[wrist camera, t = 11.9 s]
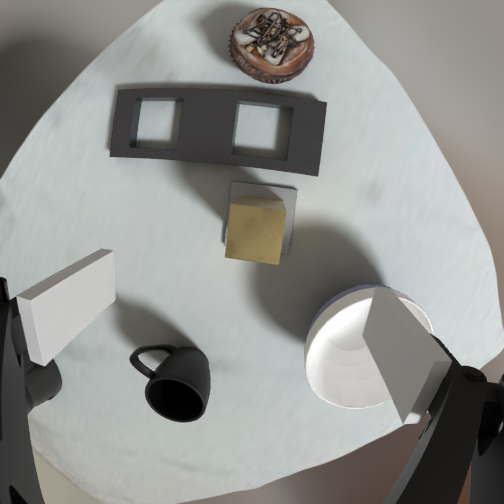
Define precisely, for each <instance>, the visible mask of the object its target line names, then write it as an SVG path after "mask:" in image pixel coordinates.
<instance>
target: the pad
mask: <svg viewBox="0 0 504 504" xmlns="http://www.w3.org/2000/svg"><path fill="white" fill-rule="evenodd" d="M297 191H298V190H295V189H288V188H281V187H273V186H266V185H258V184H250V183H242V182H233V181H231V188H230V197H229V206H228V215H227V224H226V234H225V244H224V246H226V243H227V233H228V224H229V215H230V206H231V203H232V202H234V201H235V200H236V199H237V198H239V197H240V196H241V195H245V196H253V197H261V198H269V199H276V200H283V202H284V204H285V207H286V210H287V214H286V221H285V227H284V234H283V241H282V248H281V253H282V254H288V252H289V246H290V239H291V233H292V226H293V219H294V212H295V205H296V198H297Z"/></svg>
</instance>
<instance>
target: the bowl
mask: <svg viewBox="0 0 504 504" xmlns="http://www.w3.org/2000/svg"><path fill="white" fill-rule="evenodd" d="M376 286H377V287H385V288H390V287H387V286H383V285H379V284H365V285H359V286H354V287H352V288H349V289H346V290H344V291H342V292H340V293H338V294H337V295H335V296H333V297H332V298H331V299H330V300H329V301H327V302H326V303H325V304H324V305H323V306H322V307H321V309H320V310H319V311H318V312H317V313H316V315H315V317H314V319H313V320H312V322H311V325H310V327H309V330H308V334H307V339H306V343H305V351H304V360H305V373H306V377H307V380H308V383H309V385H310V387H311V388H312V389H313V391H314V392H315V393H316V394H317V395H318V396H319V397H320V398H321V399H323V400H324V401H326V402H328V403H330V404H332V405H335V406H338V407H342V408H350V409H359V408H368V407H372V406H377V405H379V404H382V403H385V402H387V401H389V400H391V399H392V398H391V395H390V393H389V391H388V389H387V387H386V384H385V382H384V380H383V378H382V376H381V374H380V371H379V369H378V367H377V365H376V363H375V361H374V359H373V357H372V355H371V353H370V351H369V349H368V346H367V344H366V342H365V340H364V338H363V336H362V334H363V331H364V327H365V324H366V320H367V317H368V313H369V310H370V306H371V303H372V299H373V295H374V291H375V287H376ZM390 289H391V290H392V291H393V293H394V294H395V295H396V296H397V297H398V298H399V299H400V300H401V301H402V302H403V304H404V305H405V306H406V307H407V308H408V309H409V310H410V312H411V313H412V314H413V315H414V316H415V317H416V318H417V320H418V321H419V322H420V323H421V324H422V325H423V326H424V328H425V329H426V330H427V331H428V332H429V333H431V334H432V335H433V328H432V325H431V322H430V319H429V317H428V316H427V314H426V313H425V311H424V310H423V309H422V308H421V307H420V306H419V305H417V304H416V303H415V302H414V301H413V300H412V299H410V298H409V297H408V296H407V295H405V294H403V293H401V292H399V291H397V290H394V289H392V288H390Z"/></svg>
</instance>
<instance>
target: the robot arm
mask: <svg viewBox="0 0 504 504" xmlns="http://www.w3.org/2000/svg"><path fill="white" fill-rule="evenodd" d="M114 301H115V274H114V251H113V250H107V249H100V250H98V251H96V252H94V253H92V254H91V255H89V256H87V257H85V258H83V259H81V260H79V261H77V262H75V263H74V264H72V265H70V266H68V267H66V268H64V269H63V270H61V271H59V272H57V273H55V274H54V275H52V276H50V277H48V278H46V279H45V280H43V281H41V282H39V283H38V284H36V285H34V286H32V287H31V288H29V289H27V290H26V291H24V292H22V293H21V294H19V295H17V296H16V297H14V298H13V299H11V300H10V298H9V292H8V286H7V280H6V279H5V278H3V277H0V504H45V502H44V500H43V497H42V493H41V489H40V485H39V481H38V477H37V472H36V468H35V463H34V457H33V452H32V446H31V440H30V433H29V426H28V418H27V415H28V414H29V412H30V411H31V410H32V409H33V408H34V407H35V406H38V405H40V404H42V403H43V402H45V401H46V400H50V399H52V398H54V397H55V396H56V395H57V394H58V392H59V391H60V390H61V387H62V379H61V375H60V372H59V370H58V368H57V366H56V364H55V362H54V360H53V358H54V357H55V356H56V355H57V354H58V353H59V352H60V351H61V350H62V349H63V348H64V347H65V346H66V345H67V344H68V343H69V342H70V341H71V340H73V339H74V338H75V337H76V336H77V335H78V334H79V333H80V332H81V331H82V330H83V329H84V328H85V327H86V326H88V325H89V324H90V323H91V322H92V321H93V320H94V319H95V318H96V317H97V316H98V315H99V314H101V313H102V312H103V311H104V310H105V309H106V308H107V307H108V306H109V305H111V304H112V303H113V302H114ZM362 336H363V338H364V340H365V342H366V344H367V346H368V349H369V351H370V353H371V355H372V357H373V359H374V361H375V363H376V365H377V367H378V369H379V371H380V374H381V376H382V378H383V380H384V382H385V384H386V387H387V389H388V391H389V393H390V395H391V398H392V400H393V402H394V404H395V406H396V409H397V411H398V413H399V416H400V418H401V420H402V422H403V424H412V423H421V421H422V419H423V417H424V416H425V414H426V412H427V411H429V413H430V415H431V419H430V421H429V423H428V424H427V426H426V428H425V429H424V431H423V432H422V434H421V436H420V437H419V439H420V440H419V443H418V444H417V446H416V448H415V450H414V452H413V454H412V456H411V458H410V459H409V461H408V463H407V465H406V466H405V468H404V470H403V471H402V473H401V475H400V477H399V478H398V480H397V482H396V483H395V485H394V486H393V488H392V490H391V491H390V493H389V494H388V496H387V497H386V499H385V500H384V502H383V503H382V504H457V502H458V499H459V497H460V494H461V491H462V488H463V485H464V482H465V479H466V476H467V473H468V469H469V466H470V463H471V494H470V504H504V374H503V376H502V377H501V379H500V381H499V383H498V384H497V383H491V382H487V379H486V376H485V375H484V374H483V373H482V372H481V371H480V370H478V369H476V368H474V367H470V366H461V365H460V363H459V362H458V361H457V360H456V359H455V357H454V356H453V355H452V354H451V353H450V352H449V350H448V349H447V348H446V347H445V345H444V344H443V343H442V342H441V341H440V340H439V339H438V338H437V337H435V336H434V335H432V334H431V333H429V332H428V331H427V330H426V329H425V328H424V326H423V325H422V324H421V323H420V322H419V321H418V320H417V318H416V317H415V316H414V315H413V314H412V313H411V312H410V310H409V309H408V308H407V307H406V306H405V305H404V304H403V302H402V301H401V300H400V299H399V298H398V297H397V296H396V295H395V294H394V293H393V291H392V290H391V289H390V288H385V287H377V286H376V287H375V291H374V295H373V299H372V303H371V306H370V310H369V313H368V317H367V320H366V324H365V327H364V331H363V334H362Z"/></svg>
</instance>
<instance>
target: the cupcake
mask: <svg viewBox="0 0 504 504" xmlns="http://www.w3.org/2000/svg"><path fill="white" fill-rule="evenodd" d="M236 25H237V26H236V27H233V28H234V30H232V35H230V36H229V37H230V38H231V39H229V40H228V41H229V42H230V45H228V47H229V48H230V50H229V52H230V53H231V55H230V56H231V57H232V58H233V59H234V60H233V62H234V63H236V66H237V67H240V70H241V71H244V72H245V74H247V75H250V76H251V77H252V78H254V79H255V80H259V81H260V82H264V83H268V84H279V83H283V82H285V81H289V80H291V79H293V78H294V77H296V76H298V75H299V74H300V73H301V72H302V71H303V70H304V69H305V68H306V67H307V65H308V64H309V62H310V61H311V59H312V58H313V53H314V49H315V47H314V40H313V35H312V33H311V31H310V29H309V27H308V26H307V24H306V23H305V22H304V21H303V20H301V19H300V18H298V17H297V16H295V15H293V14H291V13H289V12H286V11H284V10H280V9H276V8H260V9H256V10H254V11H252V12H250V13H249V14H248V15H246V16H245V17H244V18H243V19H242V20H240V23H237V24H236Z"/></svg>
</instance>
